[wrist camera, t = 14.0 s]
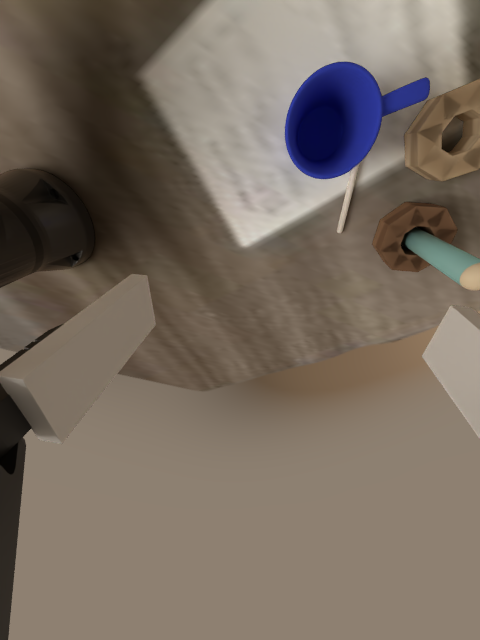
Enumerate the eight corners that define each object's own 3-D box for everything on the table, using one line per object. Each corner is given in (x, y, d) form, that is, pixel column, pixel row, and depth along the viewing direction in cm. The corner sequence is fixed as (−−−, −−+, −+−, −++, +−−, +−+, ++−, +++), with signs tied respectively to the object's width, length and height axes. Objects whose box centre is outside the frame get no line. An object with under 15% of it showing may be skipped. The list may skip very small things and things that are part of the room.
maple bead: (406, 186, 32) (418, 189, 29) (403, 111, 28) (417, 105, 25) (482, 160, 29) (504, 160, 26) (491, 74, 26) (517, 63, 23)
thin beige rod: (341, 232, 36) (342, 234, 35) (335, 232, 36) (336, 233, 35) (375, 95, 28) (377, 94, 27) (368, 95, 28) (370, 94, 27)
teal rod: (394, 243, 36) (462, 293, 22) (401, 224, 34) (477, 266, 21) (413, 244, 35) (493, 296, 22) (420, 226, 34) (511, 269, 20)
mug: (393, 147, 30) (435, 143, 22) (292, 183, 34) (295, 191, 25) (390, 58, 26) (440, 10, 18) (277, 109, 30) (274, 89, 21)
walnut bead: (367, 259, 37) (374, 268, 34) (386, 201, 33) (395, 204, 30) (424, 264, 36) (436, 273, 34) (451, 204, 32) (468, 209, 29)
